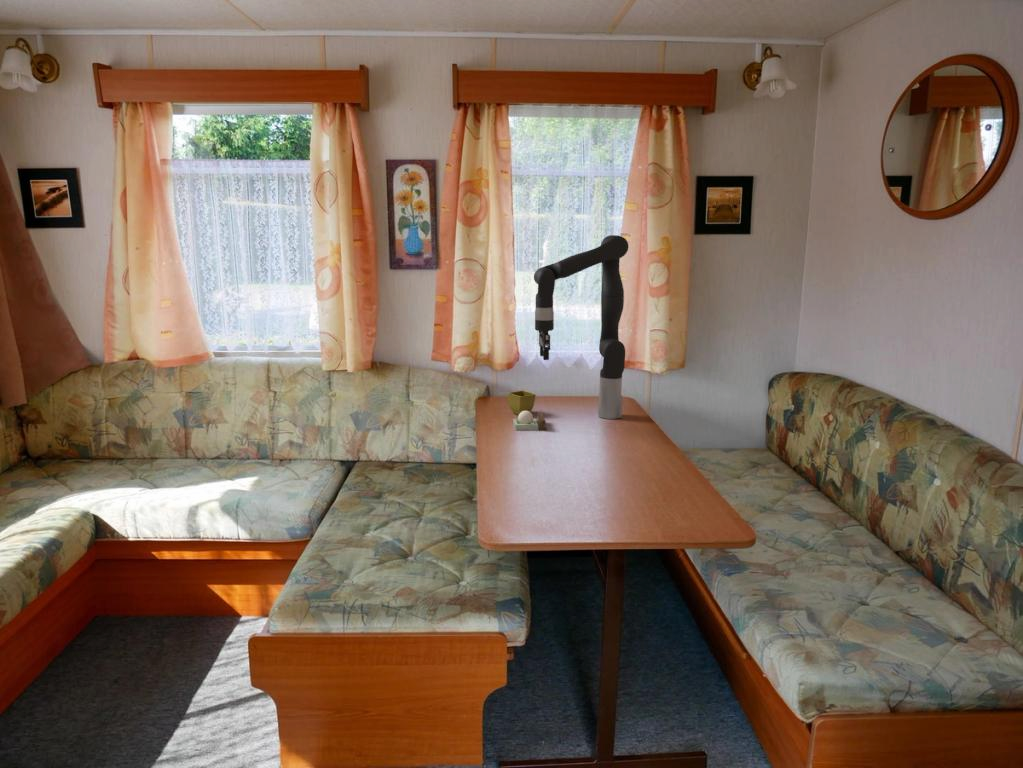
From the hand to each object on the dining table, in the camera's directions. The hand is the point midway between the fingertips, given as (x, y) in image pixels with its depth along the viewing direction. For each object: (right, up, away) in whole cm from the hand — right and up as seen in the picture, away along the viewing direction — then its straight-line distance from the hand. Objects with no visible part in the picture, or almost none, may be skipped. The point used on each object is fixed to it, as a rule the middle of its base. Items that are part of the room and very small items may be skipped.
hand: (544, 357), depth 277 cm
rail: (-1, -28, -4) cm, 28 cm away
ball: (-8, -27, -5) cm, 29 cm away
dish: (-8, -28, -5) cm, 29 cm away
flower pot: (-9, -24, +15) cm, 29 cm away
